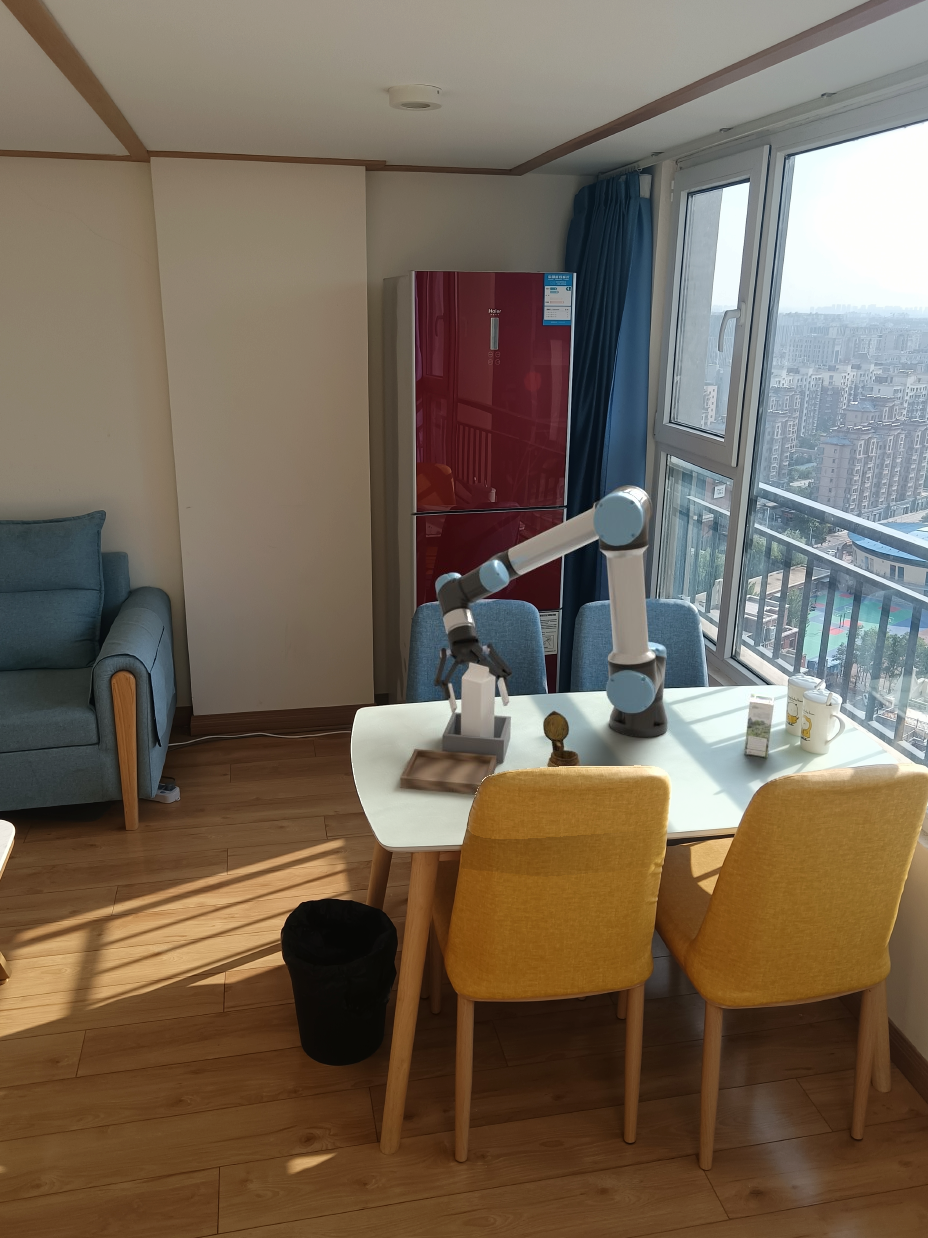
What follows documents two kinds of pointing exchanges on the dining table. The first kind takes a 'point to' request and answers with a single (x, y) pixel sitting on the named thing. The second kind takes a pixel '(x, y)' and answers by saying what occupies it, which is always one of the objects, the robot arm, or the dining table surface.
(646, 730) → the robot arm
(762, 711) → the white drink carton
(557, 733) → the wooden mug
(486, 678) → the milk
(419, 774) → the tray
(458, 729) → the box
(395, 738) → the dining table surface
